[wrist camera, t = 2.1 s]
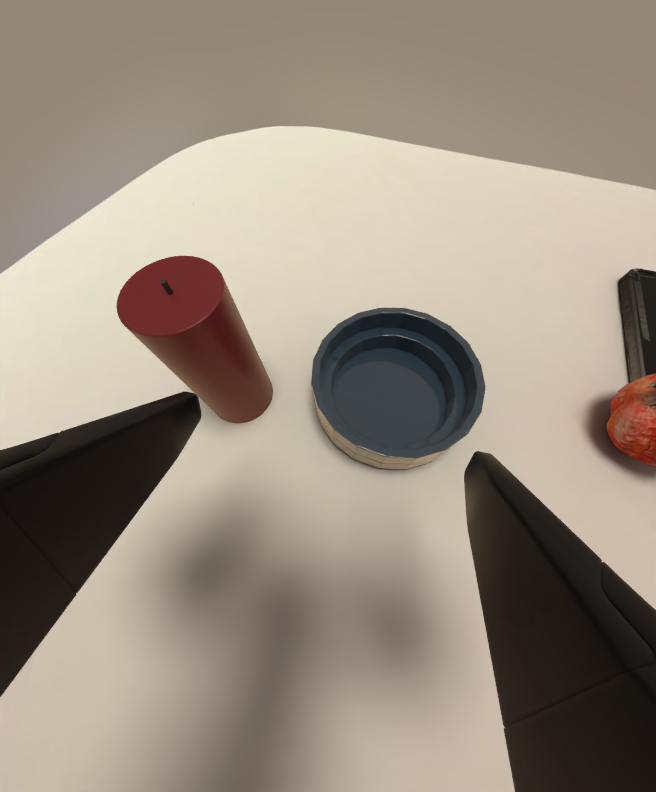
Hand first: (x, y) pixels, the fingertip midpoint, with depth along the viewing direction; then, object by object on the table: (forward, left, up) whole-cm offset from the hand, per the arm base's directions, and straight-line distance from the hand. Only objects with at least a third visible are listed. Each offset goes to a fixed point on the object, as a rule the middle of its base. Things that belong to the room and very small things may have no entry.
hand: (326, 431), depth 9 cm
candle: (-2, +12, -15) cm, 19 cm away
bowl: (+8, +4, -15) cm, 17 cm away
